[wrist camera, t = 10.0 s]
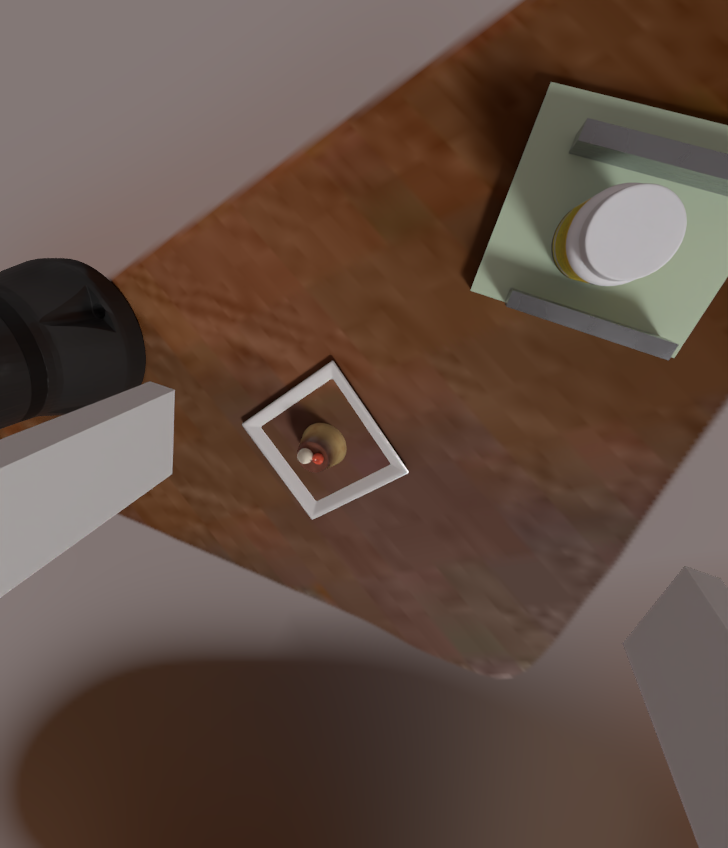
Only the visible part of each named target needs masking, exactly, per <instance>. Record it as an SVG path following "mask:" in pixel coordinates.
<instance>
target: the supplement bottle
mask: <svg viewBox="0 0 728 848" xmlns="http://www.w3.org/2000/svg"><path fill="white" fill-rule="evenodd" d="M686 225H687V217H686V211H685V208H684V205H683V203H682V201H681V200H680V198H679V197H678V196H677V195H676V194H675V193H674V192H673V191H671V190H670V189H668V188H667V187H664V186H661V185H658V184H651V183H622V184H618V185H614V186H612V187H609V188H607V189H605V190H603V191H601V192H600V193H598V194H596V195H595V196H593V197H591V198H590V199H588V200H586V201H584V202H583V203H581V204H579V205H577V206H576V207H574V208H573V209H572V210H570V211H569V212H568V213H567V214H566V215H565V216H564V217H563V218H562V220H561V221H560V222H559V224H558V225H557V227H556V229H555V231H554V234H553V237H552V241H551V255H552V259H553V262H554V264H555V266H556V268H557V269H558V270H559V271H560V272H561V273H562V274H563V275H564V276H566V277H567V278H570V279H572V280H575V281H580V282H584V283H589V284H592V285H598V286H617V285H622V284H625V283H628V282H631V281H633V280H635V279H639V278H642V277H645V276H647V275H650V274H651V273H653V272H655V271H657V270H658V269H660V268H661V267H662V266H663V265H665V264H666V263H667V262H668V261H669V260H670V259H671V258H672V257H673V255H674V254H675V253H676V251H677V250H678V248H679V246H680V245H681V243H682V241H683V238H684V235H685V231H686Z"/></svg>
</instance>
